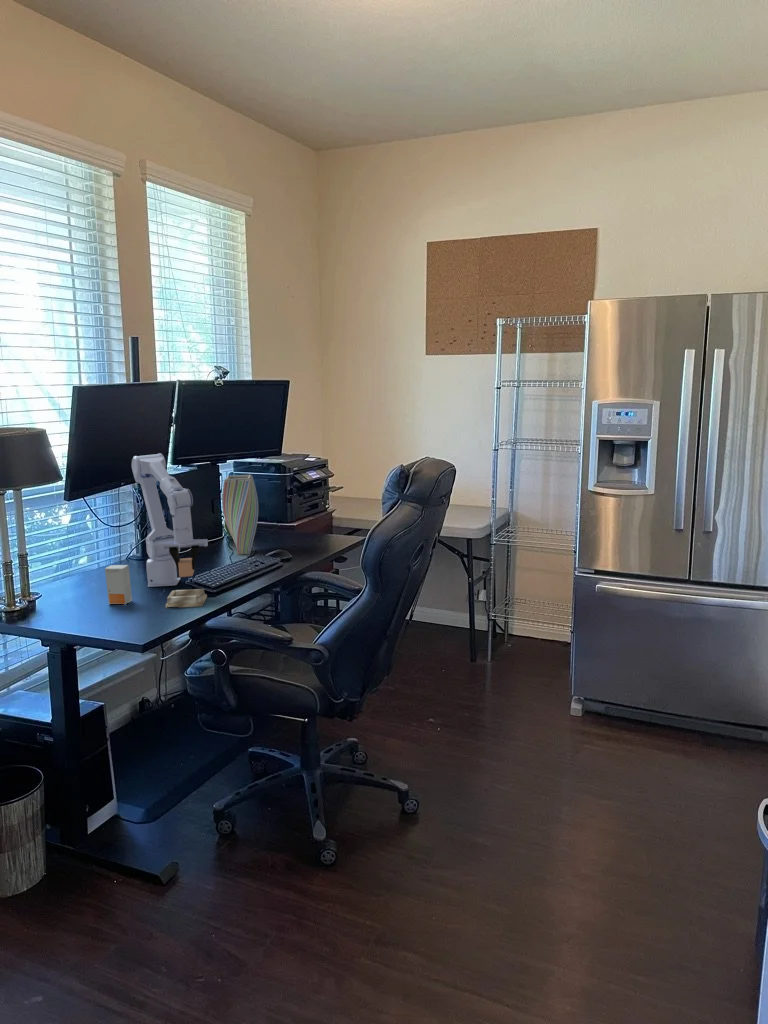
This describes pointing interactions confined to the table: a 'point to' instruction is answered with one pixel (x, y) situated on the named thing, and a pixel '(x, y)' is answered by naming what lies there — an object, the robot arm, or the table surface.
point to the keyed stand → (186, 598)
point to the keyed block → (185, 567)
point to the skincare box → (118, 584)
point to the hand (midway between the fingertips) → (186, 569)
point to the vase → (240, 510)
